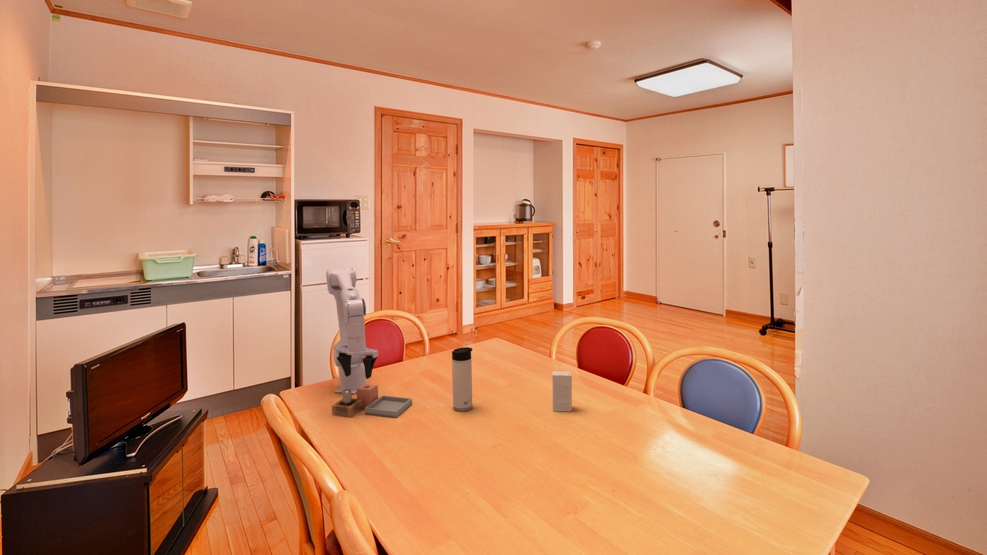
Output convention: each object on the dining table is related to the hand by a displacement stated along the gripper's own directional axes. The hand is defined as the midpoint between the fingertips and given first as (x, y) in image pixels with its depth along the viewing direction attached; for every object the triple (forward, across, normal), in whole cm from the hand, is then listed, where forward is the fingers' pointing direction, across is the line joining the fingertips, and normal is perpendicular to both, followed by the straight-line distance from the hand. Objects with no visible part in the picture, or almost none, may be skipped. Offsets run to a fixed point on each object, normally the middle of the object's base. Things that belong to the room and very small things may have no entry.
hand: (358, 376), depth 155 cm
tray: (+10, +10, +1) cm, 15 cm away
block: (+10, +1, +3) cm, 11 cm away
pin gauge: (+10, -2, -4) cm, 11 cm away
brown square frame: (+10, -2, -4) cm, 11 cm away
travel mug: (+10, +33, +8) cm, 36 cm away
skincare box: (+10, +64, +16) cm, 67 cm away
